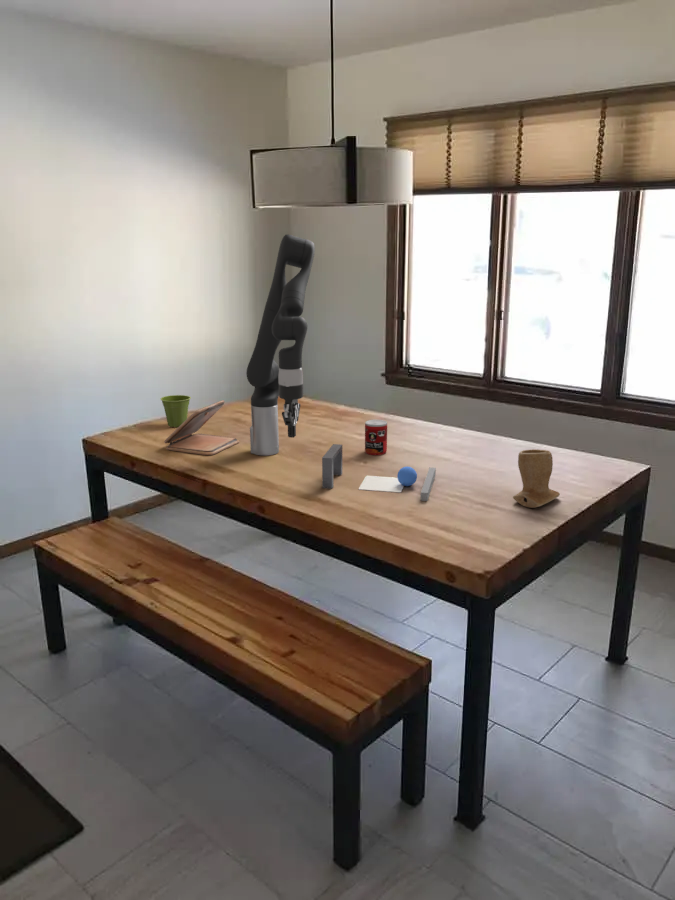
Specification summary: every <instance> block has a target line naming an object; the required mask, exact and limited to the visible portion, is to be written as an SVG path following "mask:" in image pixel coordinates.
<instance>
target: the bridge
mask: <svg viewBox="0 0 675 900" xmlns="http://www.w3.org/2000/svg"><path fill="white" fill-rule="evenodd" d="M321 470H322V471H321V479H322V480H321V481H322V482H321V483H322V484H321V485H322V487H321V488H322V489H329V490H331V489H333V488H334V476H342V475H343V444H340V443H332V445H331V446H330V448H329V449H328V450H327V451H326V452H325V454H324V455H323V456H322V457H321Z"/></svg>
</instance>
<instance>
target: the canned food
mask: <svg viewBox="0 0 675 900" xmlns="http://www.w3.org/2000/svg"><path fill="white" fill-rule="evenodd" d="M364 424H365V426H364V451H365V454H367V455H369V456H383V455H384V454H386V453H387V451H388V449H387V448H388V422H387V421H386V420H383V419H368V420H367V421H365V423H364Z"/></svg>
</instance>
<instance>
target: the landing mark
mask: <svg viewBox="0 0 675 900" xmlns="http://www.w3.org/2000/svg"><path fill="white" fill-rule="evenodd" d="M404 487H405V486H404V485H402V484H401V483H400V482H399V481H398V478H397V477H392V476H378V475H377V476H376V475H366V476H365V477H364V479H363V481H362V482H361V483H360V485H359V487H358V490H359V491H360V490H362V491H373V492H374V491H375V492H385V493H386V492H388V493H398V494H399V493H402V491H403V489H404Z"/></svg>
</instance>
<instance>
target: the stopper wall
mask: <svg viewBox="0 0 675 900" xmlns="http://www.w3.org/2000/svg"><path fill="white" fill-rule="evenodd" d="M436 471H437V468H436V467H429V468H428V471H427V474H426V477H425V479H424V482H423V485H422V488H421V491H420V501H422V502H428V501H429V497H430V494H431V491H432V488H433V484H434V481H435V478H436V476H437V475H436Z"/></svg>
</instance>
